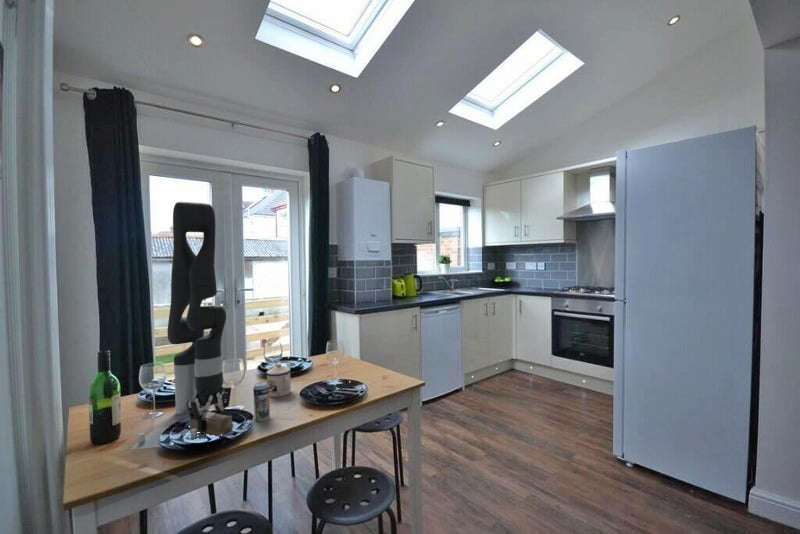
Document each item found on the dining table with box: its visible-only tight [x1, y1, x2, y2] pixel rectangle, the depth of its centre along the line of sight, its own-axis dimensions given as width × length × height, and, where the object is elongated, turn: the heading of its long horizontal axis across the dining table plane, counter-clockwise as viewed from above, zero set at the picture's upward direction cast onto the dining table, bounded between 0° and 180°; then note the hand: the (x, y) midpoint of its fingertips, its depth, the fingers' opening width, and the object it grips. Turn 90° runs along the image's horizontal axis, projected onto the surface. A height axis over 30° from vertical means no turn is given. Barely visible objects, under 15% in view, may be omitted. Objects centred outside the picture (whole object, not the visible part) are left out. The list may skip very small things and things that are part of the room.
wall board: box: [129, 421, 234, 451], centre depth 106 cm, size 13×23×4 cm, turn 97°
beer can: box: [253, 381, 271, 422], centre depth 117 cm, size 5×5×12 cm
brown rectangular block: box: [188, 411, 233, 436], centre depth 109 cm, size 5×12×4 cm, turn 67°
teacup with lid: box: [266, 363, 292, 398], centre depth 141 cm, size 12×9×12 cm
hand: (211, 427), depth 109 cm, fingers closed on brown rectangular block, 5 cm apart
